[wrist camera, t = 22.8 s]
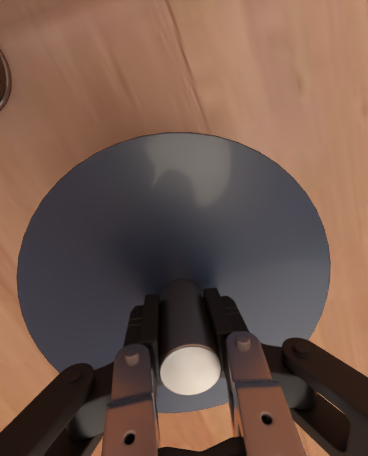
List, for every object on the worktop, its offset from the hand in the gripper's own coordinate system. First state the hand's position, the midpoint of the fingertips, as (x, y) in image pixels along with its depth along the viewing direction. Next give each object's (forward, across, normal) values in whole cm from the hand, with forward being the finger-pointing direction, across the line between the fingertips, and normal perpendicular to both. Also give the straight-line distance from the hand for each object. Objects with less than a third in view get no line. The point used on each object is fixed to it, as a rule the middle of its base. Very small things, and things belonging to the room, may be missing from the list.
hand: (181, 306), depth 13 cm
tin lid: (+1, 0, 0) cm, 1 cm away
